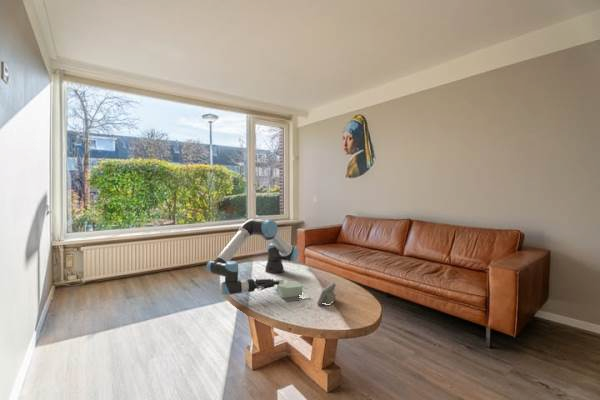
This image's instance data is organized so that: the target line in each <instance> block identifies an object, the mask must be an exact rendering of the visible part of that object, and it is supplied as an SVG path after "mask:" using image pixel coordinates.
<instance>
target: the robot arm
mask: <svg viewBox="0 0 600 400" xmlns="http://www.w3.org/2000/svg"><path fill="white" fill-rule="evenodd" d="M278 229H279V227H278V224H277V222H276V221H274V220H273V219H265V218H258V217H254V218H250V219H248V220H247V221H245V222H244V223H242V225H240V227H239V228H238V230H237V233H235V235H234V236H233V237H232V239H231V240H230V241H229V242H228V244H226V246H225V247H224V248H223V249H222V251H221V252H220V253H219V254H218V256H216V258H215V259H214V260H209V261H208V262H207V263H206V265H205V266H206V267H205V269H206V272H208V273H210V274H213V275H218V276H222V277H224V278H225V279H224V282H221V285H220V289H221V294H222V295H223V296H231V295H236V294H244V293H253V292H254V291H256V289H260V291H262V290H265V289H270V288H273V287H275V286H277V285H279V284H284V279H283V278H280V279H274V278H265V279H263V278H262V279H261V278H260V279H257V278H256V279H253V278H250V279H240V280H239V263H238V261H234V260H232V258H233V257H234V256H235V255H236V253H237V251H238V250H239V249H240V248H241V247H242V245H243V244H244V243H245V242H246V240H247V239H250V237H252V236H253V235H255V236H259V237H262V238H263V239H264V240H265V241H269V243H268V247H267V263H266V265H265V269H264V271H265V272H266V273H269V274H279V273H282V272H284V269H285V268H284V265H283V261H287V262H292V263H293V262H294V263H295V262H296V261H297V259H298V257H299V253H300V252H299V248H298V246H297V247H296V246H293V245H292V244H291V243H290V242H287V241H286V240H285V239H284V238H283V237H282V236H281V234H280V233H279V232H278Z"/></svg>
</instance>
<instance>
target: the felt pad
mask: <svg viewBox="0 0 600 400" xmlns="http://www.w3.org/2000/svg"><path fill="white" fill-rule="evenodd" d="M274 290H275V291H276V292H277V288H275V289H274ZM302 292H304V291H303V290H302ZM299 297H300V296H292V297H286V298H283V300H284V301H285V302H286V301H287V302H286V303H290V301H292V302H296V300H298V301H301V300H300V299H302V298H299Z"/></svg>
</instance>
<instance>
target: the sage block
mask: <svg viewBox="0 0 600 400" xmlns="http://www.w3.org/2000/svg"><path fill="white" fill-rule="evenodd" d="M276 289H277V291H276V293H277V294H278V295H279V296H280V298H281V299H284V298H286V297H292V296H299V295H302V291H303V285H302V284H300V282H299V281H297V280H294V281H286V282H284V284H279V285H276Z"/></svg>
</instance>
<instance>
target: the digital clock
mask: <svg viewBox="0 0 600 400" xmlns="http://www.w3.org/2000/svg"><path fill="white" fill-rule="evenodd" d="M335 288H336V283H335V282H331V284H329V285H327V286H326V287H324V288H323V289H322V290H321V292H320V295H319V297H318V300H317V303H316V304H317V306H322V305H323V304H322V303H326V304H330V303H331V302H332V301H334V300H335V301H336V294H335V293H334V291H335ZM321 304H322V305H321Z"/></svg>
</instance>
